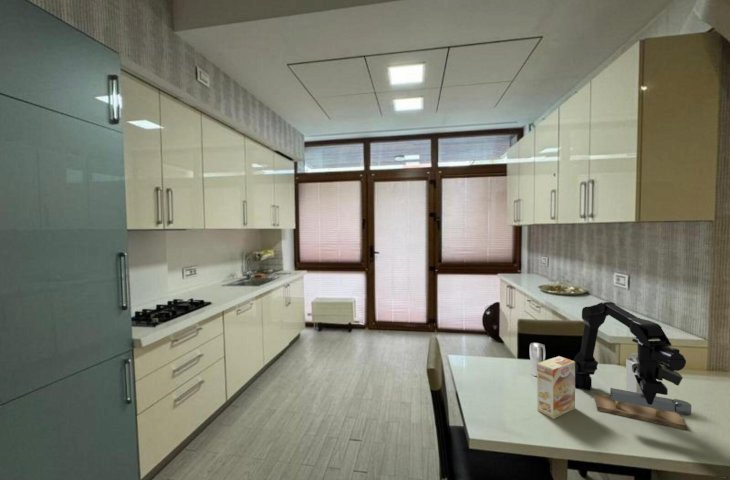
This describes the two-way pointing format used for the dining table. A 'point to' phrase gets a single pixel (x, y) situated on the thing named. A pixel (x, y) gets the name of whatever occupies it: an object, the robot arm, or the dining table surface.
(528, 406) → the dining table surface
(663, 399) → the grey ball-topped bar
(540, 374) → the coffeecake box
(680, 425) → the tool rest
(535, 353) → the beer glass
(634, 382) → the milk carton
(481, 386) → the dining table surface
